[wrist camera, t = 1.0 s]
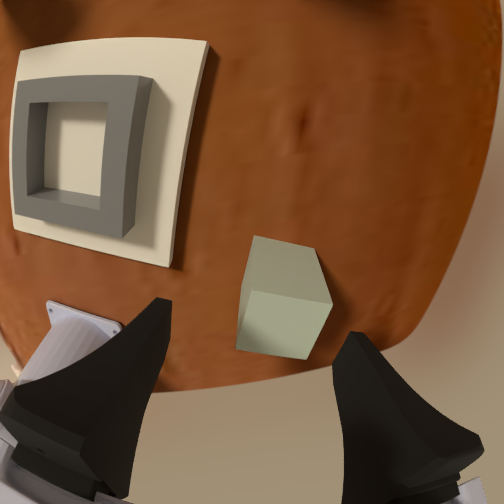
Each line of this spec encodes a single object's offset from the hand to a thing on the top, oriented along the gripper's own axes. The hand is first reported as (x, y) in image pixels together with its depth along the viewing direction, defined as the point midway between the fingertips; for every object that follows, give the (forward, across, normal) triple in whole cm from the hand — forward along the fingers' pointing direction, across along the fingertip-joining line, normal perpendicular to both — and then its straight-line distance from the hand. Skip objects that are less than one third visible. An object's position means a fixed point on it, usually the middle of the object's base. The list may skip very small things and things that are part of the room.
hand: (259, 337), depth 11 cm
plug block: (+9, -2, +2) cm, 9 cm away
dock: (+9, +12, -4) cm, 16 cm away
